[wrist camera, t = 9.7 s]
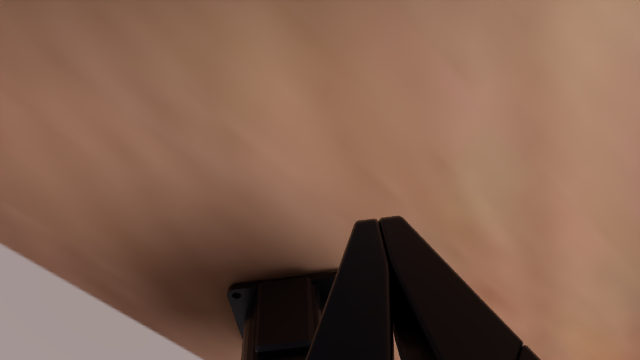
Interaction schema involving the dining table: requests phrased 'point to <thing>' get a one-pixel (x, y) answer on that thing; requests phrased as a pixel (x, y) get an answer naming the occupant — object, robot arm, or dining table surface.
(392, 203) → the dining table surface
